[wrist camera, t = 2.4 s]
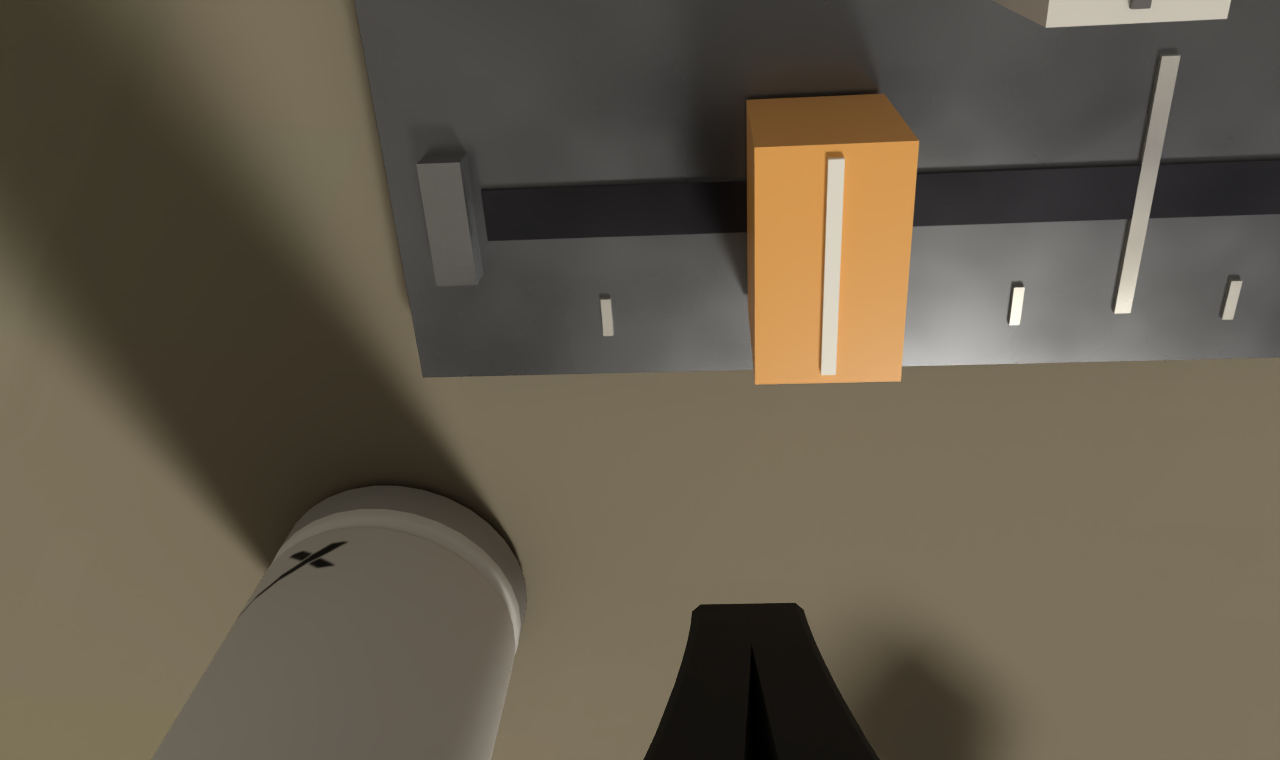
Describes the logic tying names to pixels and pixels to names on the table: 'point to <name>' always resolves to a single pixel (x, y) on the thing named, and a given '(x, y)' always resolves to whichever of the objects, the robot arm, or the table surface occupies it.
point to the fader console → (717, 176)
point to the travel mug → (366, 640)
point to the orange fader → (828, 237)
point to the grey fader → (1115, 11)
